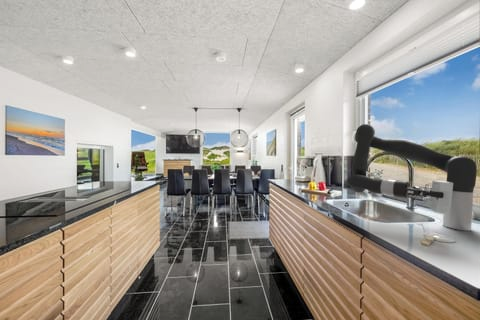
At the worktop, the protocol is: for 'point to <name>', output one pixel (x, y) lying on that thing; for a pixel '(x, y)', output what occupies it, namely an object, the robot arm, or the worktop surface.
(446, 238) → the white shallow dome
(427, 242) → the wooden slat
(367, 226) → the worktop surface
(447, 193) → the skincare box
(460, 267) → the worktop surface
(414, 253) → the worktop surface
